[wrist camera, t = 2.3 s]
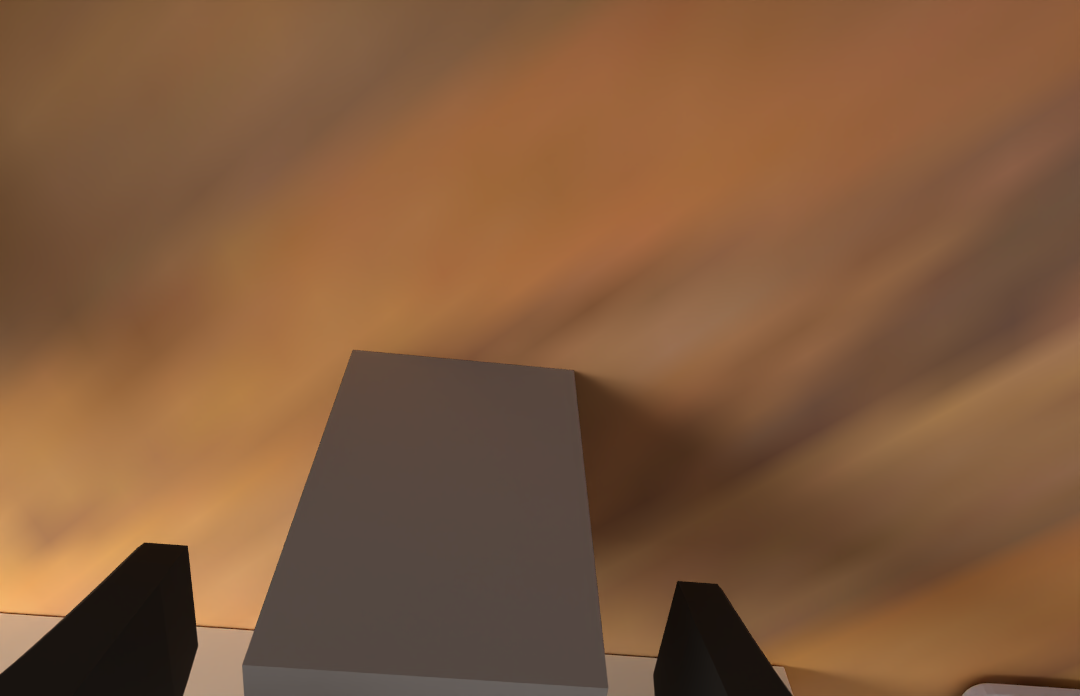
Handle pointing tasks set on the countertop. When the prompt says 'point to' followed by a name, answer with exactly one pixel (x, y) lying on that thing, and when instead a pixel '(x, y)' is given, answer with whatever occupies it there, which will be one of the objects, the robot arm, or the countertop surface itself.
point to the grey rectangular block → (438, 542)
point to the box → (222, 651)
